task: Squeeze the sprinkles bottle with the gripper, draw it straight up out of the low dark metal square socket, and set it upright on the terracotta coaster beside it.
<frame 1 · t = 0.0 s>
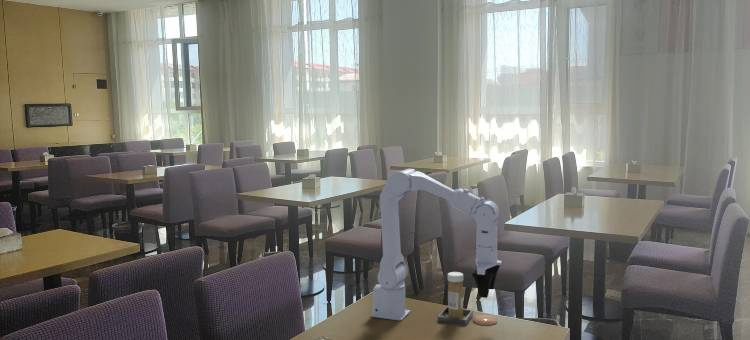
hand: (486, 292, 160), 10 cm above the table, fingers open, 7 cm apart
terracotta coaster: (485, 320, 166), on the table
square socket: (455, 318, 169), on the table
sprinkles bottle: (455, 318, 169), resting in square socket
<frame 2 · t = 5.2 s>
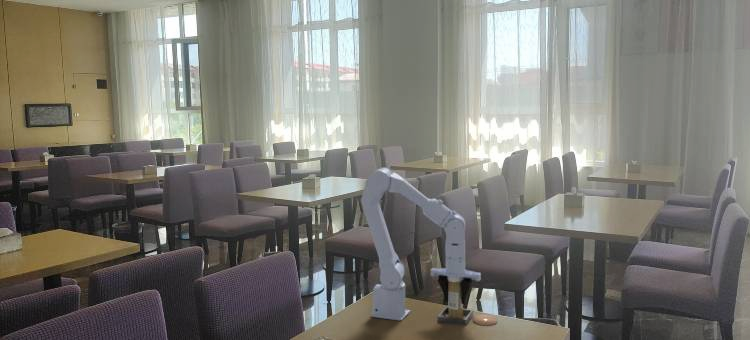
hand: (455, 301, 168), 5 cm above the table, fingers closed on sprinkles bottle, 4 cm apart
sprinkles bottle: (455, 318, 169), resting in square socket, touching gripper
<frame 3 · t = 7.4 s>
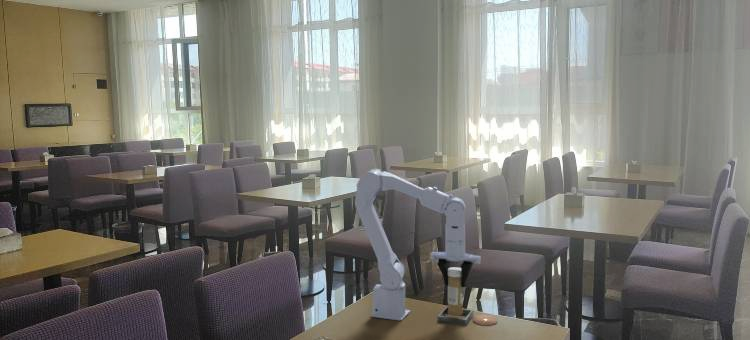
hand: (455, 285, 168), 10 cm above the table, fingers closed on sprinkles bottle, 4 cm apart
sprinkles bottle: (455, 314, 169), point 1 cm above the table, touching gripper
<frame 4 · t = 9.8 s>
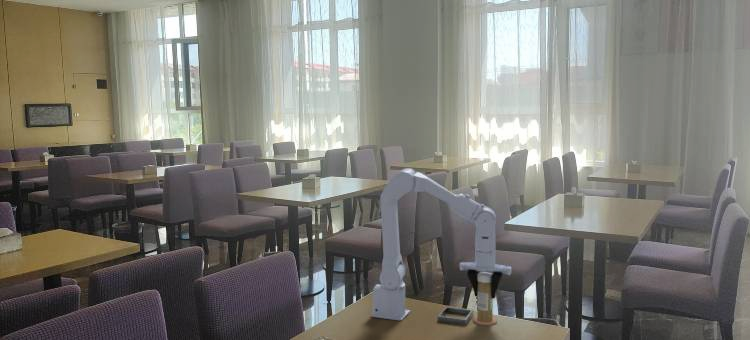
hand: (485, 296, 166), 7 cm above the table, fingers closed on sprinkles bottle, 4 cm apart
sprinkles bottle: (484, 319, 166), resting on terracotta coaster, touching gripper
when the fingers open (6 cm above the table, at t = 10.9 s): sprinkles bottle stays where it is, resting on terracotta coaster.
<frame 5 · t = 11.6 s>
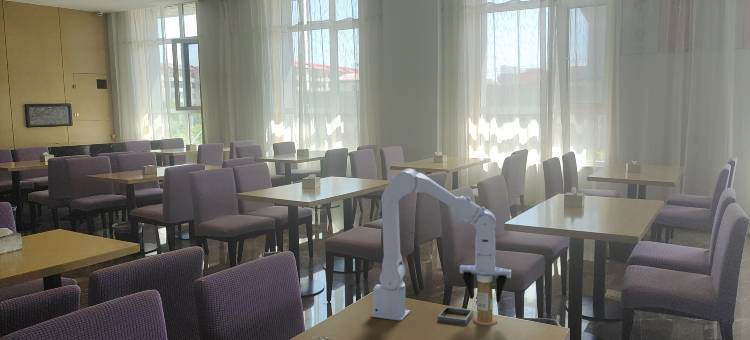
hand: (485, 299, 166), 6 cm above the table, fingers open, 7 cm apart
sprinkles bottle: (484, 319, 166), resting on terracotta coaster
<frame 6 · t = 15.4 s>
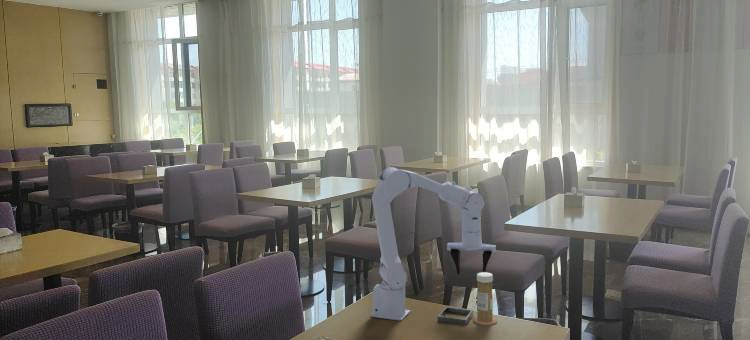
hand: (471, 273, 177), 10 cm above the table, fingers open, 7 cm apart
nothing on the table moved.
at the end: sprinkles bottle 0.2 cm off-centre on the terracotta coaster, point 0.3 cm above the terracotta coaster's base; sprinkles bottle tilted 0°; the gripper is holding nothing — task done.
